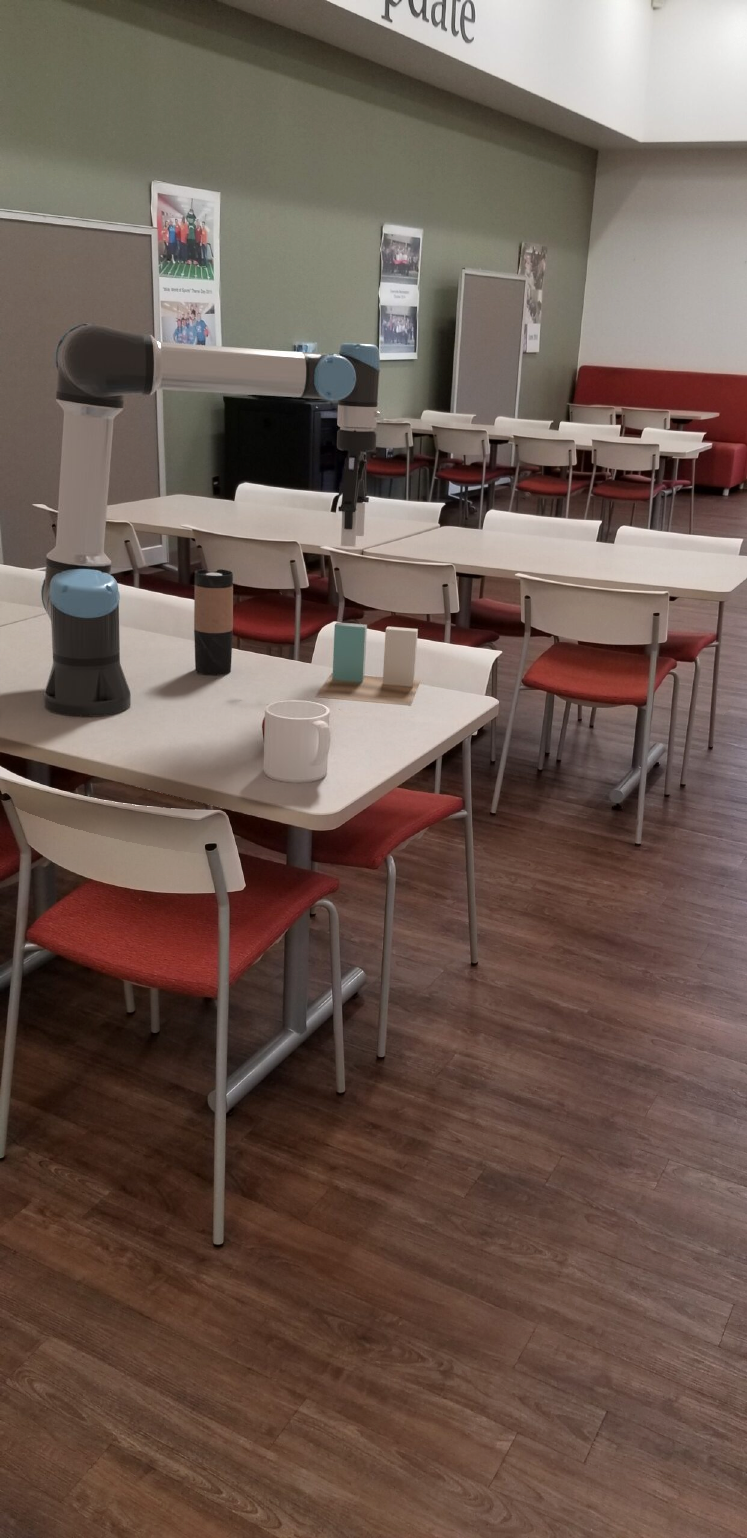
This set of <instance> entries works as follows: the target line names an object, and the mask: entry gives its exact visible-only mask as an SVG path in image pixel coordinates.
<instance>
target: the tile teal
mask: <svg viewBox="0 0 747 1538" xmlns="http://www.w3.org/2000/svg"><path fill="white" fill-rule="evenodd" d="M367 630H368V624H361V623H351V622H350V623H349V622H339V621H337V622H335V624H334V632H333V633H334V634H333V652H332V653H333V654H332V655H333V658H332V660H333V661H332V673H333V677H332V680H342V681H353V682H363V681H364V675H365V674H366V673H365V672H366V671H365V669H366V655H367V654H366V650H367V647H366V646H367V636H368V634H367V632H368V631H367ZM365 676H366V675H365Z"/></svg>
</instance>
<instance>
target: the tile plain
mask: <svg viewBox="0 0 747 1538" xmlns="http://www.w3.org/2000/svg"><path fill="white" fill-rule="evenodd" d="M418 631H419V629H418V628H410V627H399V626H387V627H386V628H385V634H384V635H385V636H384V650H383V651H384V654H383V671H382V672H383V674H382V677H383V684H387V685H398V686H410V687H413V686H414V681H415V680H416V664H417V662H416V661H417V648H418V647H417V646H418V634H419V633H418Z"/></svg>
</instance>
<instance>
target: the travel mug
mask: <svg viewBox="0 0 747 1538" xmlns="http://www.w3.org/2000/svg"><path fill="white" fill-rule="evenodd" d="M233 573H234V572H233V571H230V570H227V569H217V570H215V571H208V570H207V569H204V568H202V569H198V570H195V571H194V600H193V601H194V603H193V604H194V607H193V608H194V610H193V611H194V612H193V613H194V614H193V615H194V616H193V617H194V618H193V619H194V620H193V621H194V622H193V633H194V635H193V636H194V637H193V638H194V667H195V672H196V673H198V674H201V675H205V676H222V675H226V674H230V673H231V671H232V658H233V657H232V655H233V654H232V653H233V633H234V632H233V631H234V630H233V629H234V627H233V625H234V615H233V614H234V610H233V609H234V600H233V599H234V575H233Z"/></svg>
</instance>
